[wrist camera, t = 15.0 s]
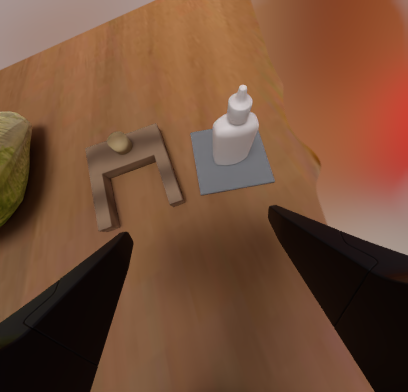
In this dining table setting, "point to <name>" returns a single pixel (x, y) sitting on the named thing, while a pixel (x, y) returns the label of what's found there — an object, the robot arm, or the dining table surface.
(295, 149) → the dining table surface
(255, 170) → the slate mat
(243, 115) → the eye dropper bottle
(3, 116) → the lettuce
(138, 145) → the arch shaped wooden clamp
